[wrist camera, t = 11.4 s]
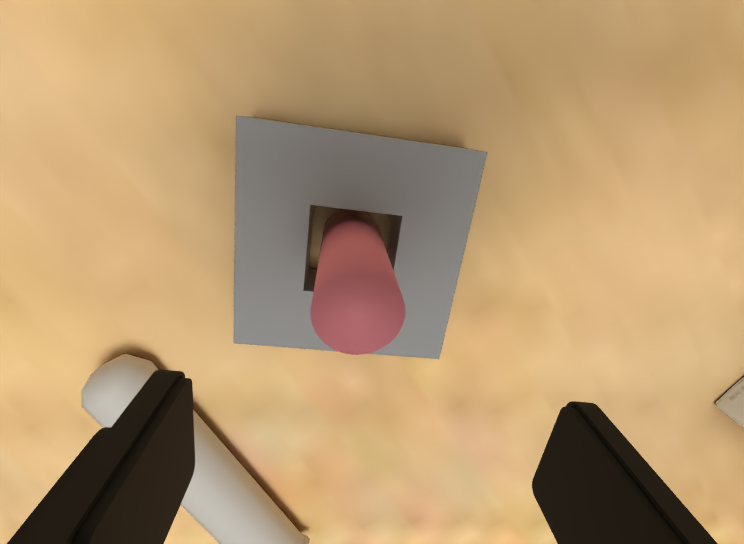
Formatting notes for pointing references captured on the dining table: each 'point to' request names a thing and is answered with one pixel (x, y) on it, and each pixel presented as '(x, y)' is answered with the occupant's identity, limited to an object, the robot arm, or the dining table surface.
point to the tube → (197, 465)
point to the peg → (355, 287)
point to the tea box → (733, 402)
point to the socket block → (354, 192)
